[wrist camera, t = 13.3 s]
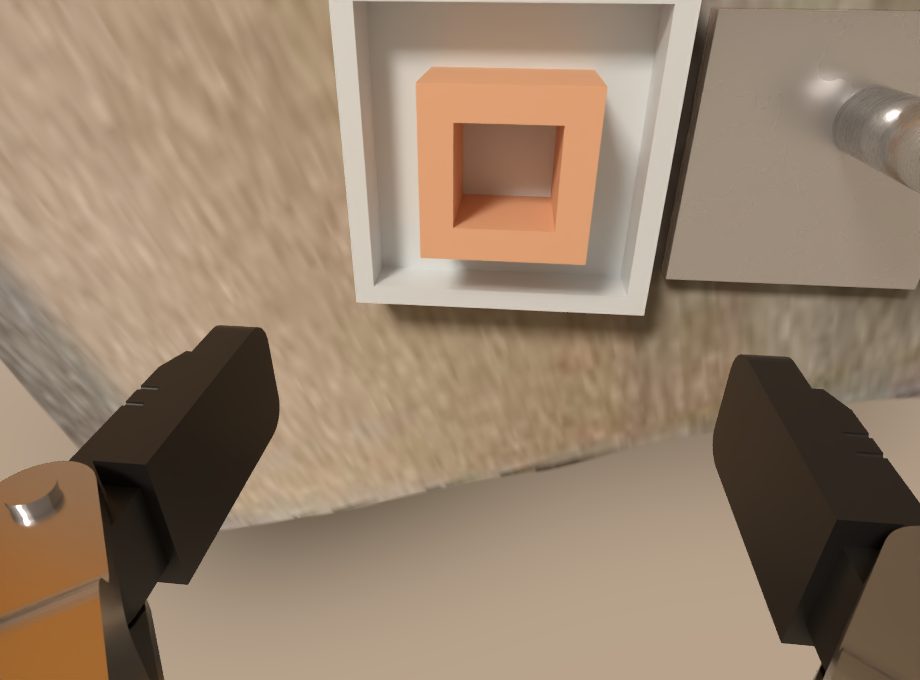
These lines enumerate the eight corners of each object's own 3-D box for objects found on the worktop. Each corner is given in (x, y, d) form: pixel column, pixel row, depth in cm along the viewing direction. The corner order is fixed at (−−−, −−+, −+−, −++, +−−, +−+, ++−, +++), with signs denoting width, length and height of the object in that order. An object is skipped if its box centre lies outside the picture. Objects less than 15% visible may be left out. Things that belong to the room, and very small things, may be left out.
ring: (594, 69, 22) (607, 86, 19) (577, 226, 25) (585, 265, 22) (432, 66, 23) (415, 82, 19) (434, 220, 26) (420, 257, 22)
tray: (687, -26, 21) (706, -26, 19) (634, 289, 27) (643, 315, 25) (345, -28, 22) (326, -28, 20) (369, 277, 28) (356, 302, 26)
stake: (1013, 11, 21) (1194, 23, 15) (902, 278, 26) (1006, 361, 20) (711, 8, 21) (777, 19, 16) (661, 269, 26) (697, 346, 21)
